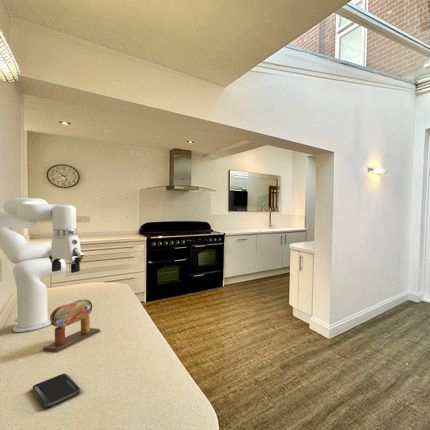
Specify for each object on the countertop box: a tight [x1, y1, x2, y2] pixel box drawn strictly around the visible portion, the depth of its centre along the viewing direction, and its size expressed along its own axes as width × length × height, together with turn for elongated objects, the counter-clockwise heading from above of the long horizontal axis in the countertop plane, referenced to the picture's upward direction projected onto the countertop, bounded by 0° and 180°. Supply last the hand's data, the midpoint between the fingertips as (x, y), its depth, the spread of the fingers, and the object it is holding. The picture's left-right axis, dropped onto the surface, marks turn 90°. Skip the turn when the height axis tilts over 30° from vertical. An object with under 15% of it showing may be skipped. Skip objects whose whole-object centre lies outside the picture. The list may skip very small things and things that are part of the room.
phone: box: [32, 373, 81, 409], centre depth 82 cm, size 8×1×15 cm
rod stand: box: [42, 315, 101, 353], centre depth 112 cm, size 7×17×8 cm, turn 172°
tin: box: [49, 299, 93, 328], centre depth 112 cm, size 15×3×8 cm, turn 172°
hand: (65, 271), depth 116 cm, fingers open, 9 cm apart
